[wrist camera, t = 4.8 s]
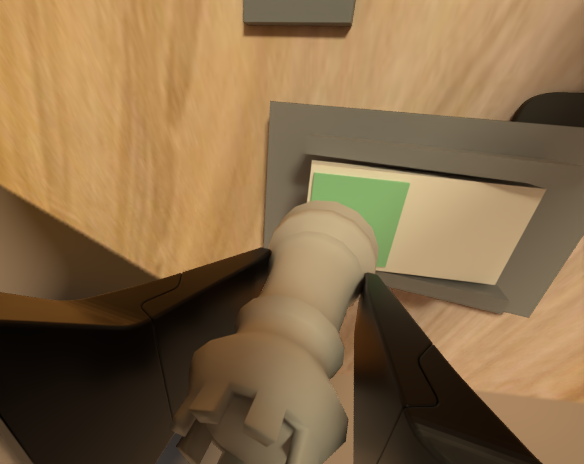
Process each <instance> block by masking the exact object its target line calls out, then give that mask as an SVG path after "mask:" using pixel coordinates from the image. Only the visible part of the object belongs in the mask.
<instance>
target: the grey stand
mask: <svg viewBox="0 0 584 464" xmlns="http://www.w3.org/2000/svg"><path fill="white" fill-rule="evenodd" d="M312 160H317V161H326V162H336V163H345V164H355V165H364V166H374V167H383V168H393V169H402V170H412V171H421V172H431V173H440V174H449V175H459V176H468V177H478V178H487V179H497V180H506V181H515V182H522V183H528V184H531V185H534V186H538V187H541V188H544V189H547V190H546V191H545V193H544V195H543V197H542V199H541V201H540V203H539V204H538V206H537V208H536V210H535V212H534V214H533V215H532V217H531V219H530V221H529V223H528V225H527V227H526V228H525V230H524V232H523V234H522V236H521V238H520V239H519V241H518V243H517V245H516V247H515V249H514V251H513V252H512V254H511V256H510V258H509V260H508V262H507V264H506V265H505V267H504V269H503V271H502V273H501V275H500V276H499V278H498V280H497V282H496V284H495V285H491V284H483V283H475V282H467V281H459V280H451V279H443V278H435V277H426V276H418V275H410V274H402V273H394V272H386V271H378V270H376V271H375V274H377V275H379V277H380V278H381V279H382V280H383V282H384V283H385V284H386V285H387V287H391V288H395V289H399V290H403V291H407V292H411V293H415V294H419V295H424V296H428V297H432V298H436V299H440V300H444V301H448V302H452V303H457V304H461V305H465V306H469V307H473V308H477V309H481V310H485V311H490V312H494V313H498V314H502V313H503V312H506V313H511V314H515V315H519V316H523V317H527V318H529V317H530V315H531V314H532V312H533V311H534V309H535V308H536V306H537V305H538V303H539V302H540V300H541V299H542V297H543V296H544V294H545V293H546V291H547V290H548V288H549V287H550V285H551V283H552V282H553V280H554V279H555V277H556V276H557V274H558V273H559V271H560V270H561V268H562V267H563V265H564V264H565V262H566V261H567V259H568V258H569V256H570V255H571V253H572V252H573V250H574V249H575V247H576V246H577V244H578V243H579V241H580V239H581V238H582V236H583V235H584V128H581V127H570V126H558V125H546V124H534V123H522V122H511V121H499V120H487V119H475V118H464V117H452V116H440V115H428V114H416V113H405V112H393V111H381V110H369V109H357V108H346V107H334V106H322V105H310V104H298V103H287V102H275V101H270V119H269V141H268V162H267V184H266V206H265V228H264V248H267V249H268V247H269V243H270V241H271V238H272V236H273V233H274V231H275V228H276V227H277V226H278V225H279V224H280V222H281V219H282V218H284V217H285V216H286V215H287V214H288V213H289V212H290V211H291V210H292V209H293V208H294V207H296V206H299V205H302V204H305V203H307V197H308V189H309V181H310V173H311V164H312Z"/></svg>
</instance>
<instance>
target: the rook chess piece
mask: <svg viewBox="0 0 584 464" xmlns="http://www.w3.org/2000/svg"><path fill="white" fill-rule="evenodd" d="M268 249H270V250H271V251H272V254H271V256H270V259H269V277H268V280H267V282H266V284H265V287H264V289H263V290H262V292H261V293H260V295H259V296H258V298H254V299H252V300H251V301H250V302H248V303H247V304H246V305H244V306H243V307H242V308H240V311H239V313H238V316H237V319H236V321H235V326H236V334H233V335H229V336H225V337H221V338H217V339H214V340H210V341H209V342H208V343H206V344H205V345H203V346H202V347H201V348H199V349H198V350H196V351H195V352H194V354H193V357H192V361H191V364H190V368H189V386H188V396H187V398H186V399H185V401H184V402H183V404H182V405H181V407H180V408H179V410H178V411H177V412H176V414H175V415H174V417H173V421H172V425H171V428H170V430H172V431H174V432H176V433H178V434H180V435H182V437H181V439H180V441H179V443H178V444H177V445H176V447H177V448H178V450H179V451H180V452H181V453H182V455H183V456H184V458H185V459H186V460H187V461H188V463H189V464H200V462H201V460H202V458H203V456H204V454H205V452H206V450H207V449H208V447H209V445H210V443H211V442H212V443H213V444H214V445H215V446H216V447H218V449H220V450H221V451H222V454H221V457H220V459H219V461H218V463H217V464H323V463H324V461H326V460H327V459H328V458H329V457H330V456H331V455H332V454H333V453H334V452H335V451H336V450H337V449H338V448H339V447H340V446H341V445H342V444H343V443H344V442H345V441H346V434H347V426H348V418H347V416H346V413H345V411H344V409H343V407H342V405H341V403H340V400H339V398H338V396H337V394H336V392H335V390H334V388H333V386H332V384H331V383H330V380H329V379H330V378H332V377H333V376H334V375H335V374H336V373H337V371H338V370H339V369H340V368H341V366H342V365H343V357H344V346H343V343H342V341H341V339H340V336H339V330H340V327H341V325H342V322H343V319H344V317H345V314H346V311H347V309H348V307H350V306H352V305H353V304H354V302H355V301H356V300H358V299H359V296H360V294H361V291H362V285H363V280H364V276H365V273H367V272H369V273H373V274H375V271H376V265H377V258H378V251H379V247H378V244H377V241H376V238H375V235H374V231H373V228H372V227H371V226H370V225H369V224H368V223H367V222H366V221H365V219H364V218H363V217H362V216H361V215H360V214H359V213H358V212H357V211H355V210H353V209H351V208H349V207H347V206H345V205H342V204H340V203H338V202H333V201H319V200H314V201H311V202H308V203H305V204H302V205H299V206H296V207H294V208H293V209H292V210H291V211H290V212H289V213H288V214H287V215H286V216H285V217H284V218H282V219H281V222H280V224H279V225H278V226H277V227H276V228H275V231H274V233H273V236H272V238H271V241H270V243H269V247H268Z"/></svg>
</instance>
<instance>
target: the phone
mask: <svg viewBox="0 0 584 464" xmlns="http://www.w3.org/2000/svg"><path fill="white" fill-rule="evenodd" d="M512 122H522V123H534V124H546V125H558V126H570V127H581V128H584V93H568V92H555V93H546V94H541V95H537V96H534V97H532V98H530V99H528V100H527V101H526V102H524V103H523V104H522V105H521V106H520V107H519V109H518V110H517V112H516V113H515V115H514V118H513V120H512Z"/></svg>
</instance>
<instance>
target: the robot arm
mask: <svg viewBox="0 0 584 464" xmlns="http://www.w3.org/2000/svg"><path fill="white" fill-rule="evenodd" d="M271 254H272V251H271V250H270V249H267V248H262V247H261V248H258V249H255V250H252V251H248V252H245V253H242V254H239V255H236V256H233V257H230V258H226V259H223V260H220V261H217V262H214V263H211V264H207V265H204V266H201V267H198V268H195V269H192V270H188V271H185V272H183V273H179V274H176V275H173V276H169V277H166V278H163V279H159V280H156V281H152V282H149V283H145V284H141V285H137V286H134V287H130V288H126V289H122V290H118V291H114V292H110V293H106V294H102V295H98V296H94V297H90V298H85V299H80V300H70V301H55V300H48V299H42V298H35V297H29V296H22V295H16V294H9V293H2V292H0V464H155V463H156V462H157V460H158V459H159V457H160V455H161V454H162V452H163V450H164V449H165V448H166V446H167V444H168V443H169V441H170V440H171V438H172V436H173V435H174V433H175V432H174V431H172V430H170V428H171V425H172V421H173V417H174V415H175V414H176V412H177V411H178V410H179V408H180V407H181V405H182V404H183V402H184V401H185V399H186V398H187V396H188V386H189V368H190V364H191V361H192V357H193V354H194V352H195V351H196V350H198V349H199V348H201V347H202V346H203V345H205V344H206V343H208V342H209V341H210V340H214V339H217V338H221V337H225V336H229V335H233V334H236V326H235V321H236V319H237V316H238V313H239V311H240V308H242V307H243V306H244V305H246V304H247V303H248V302H250V301H251V300H252V299H254V298H258V296H259V295H260V293H261V291H262V289H263V287H264V285H265V283H266V281H267V279H268V276H269V259H270V256H271ZM432 344H433V343H432V342H431V340H430V339H429V338H428V337H427V335H426V334H425V333H424V332H423V330H422V329H421V328H420V327H419V325H418V324H417V323H416V322H415V320H414V319H413V318H412V317H411V315H410V314H409V313H408V312H407V310H406V309H405V308H404V307H403V305H402V304H401V303H400V302H399V300H398V299H397V298H396V297H395V295H394V294H393V293H392V292H391V290H390V289H389V288H388V287H387V285H386V284H385V283H384V282H383V280H382V279H381V278H380V277H379V275H377V274H373V273H369V272H367V273H365V276H364V280H363V285H362V291H361V294H360V296H359V303H358V310H357V317H356V325H355V333H354V464H542V463H541V462H540V461H539V460H538V459H537V458H536V457H535V456H534V455H533V454H532V453H531V452H530V451H529V450H528V449H527V448H526V447H525V445H523V443H522V442H521V441H520V440H519V439H518V438H517V437H516V436H515V435H514V434H513V433H512V432H511V431H510V429H508V427H507V426H506V425H505V424H504V423H503V422H502V421H501V420H500V419H499V418H498V417H497V416H496V415H495V414H494V412H493V411H492V410H491V409H490V408H489V407H488V406H487V405H486V404H485V403H484V402H483V401H482V400H481V399H480V397H479V396H478V395H477V394H476V393H475V392H474V391H473V390H472V389H471V388H470V387H469V385H468V384H467V383H466V382H465V381H464V380H463V379H462V378H461V377H460V375H459V374H458V373H457V372H456V371H455V370H454V369H453V367H452V366H451V365H450V364H449V363H448V361H447V360H446V359H445V358H444V357H443V355H442V354H441V353H440V352H439V350H438V349H437V348H436V347H435V345H432Z"/></svg>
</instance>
